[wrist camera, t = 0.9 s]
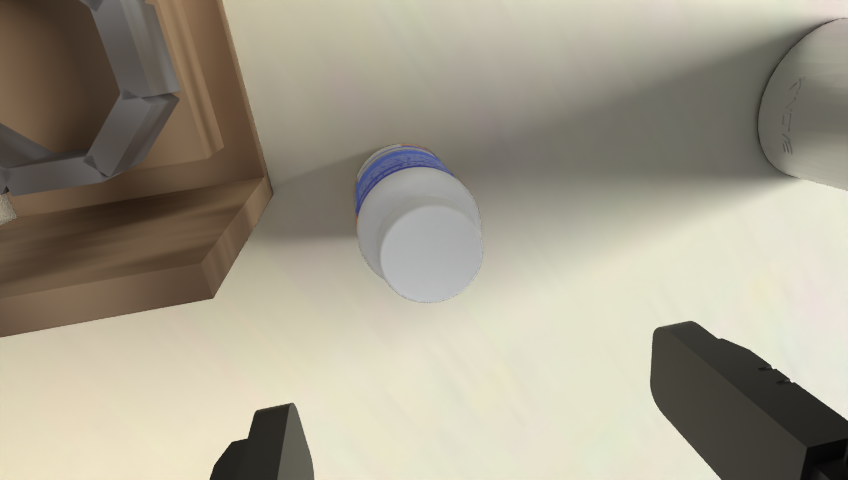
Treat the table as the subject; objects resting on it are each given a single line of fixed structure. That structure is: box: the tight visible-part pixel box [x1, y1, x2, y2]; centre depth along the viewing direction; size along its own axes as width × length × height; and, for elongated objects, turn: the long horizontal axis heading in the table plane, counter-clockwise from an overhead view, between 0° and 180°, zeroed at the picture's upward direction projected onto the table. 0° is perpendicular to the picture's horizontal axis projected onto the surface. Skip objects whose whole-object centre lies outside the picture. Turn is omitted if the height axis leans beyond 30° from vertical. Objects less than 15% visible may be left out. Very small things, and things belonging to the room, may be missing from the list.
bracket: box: [0, 0, 273, 337], centre depth 17 cm, size 12×12×12 cm
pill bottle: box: [354, 144, 483, 303], centre depth 22 cm, size 5×5×10 cm
